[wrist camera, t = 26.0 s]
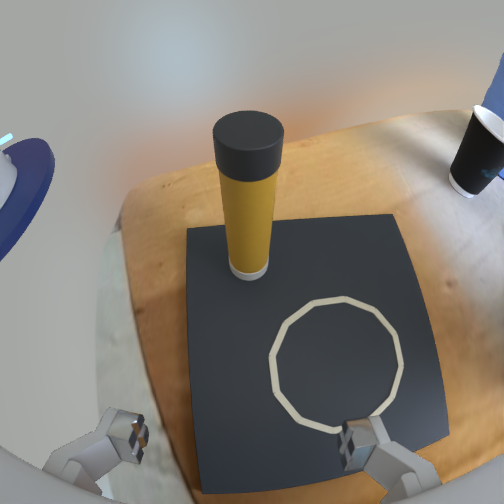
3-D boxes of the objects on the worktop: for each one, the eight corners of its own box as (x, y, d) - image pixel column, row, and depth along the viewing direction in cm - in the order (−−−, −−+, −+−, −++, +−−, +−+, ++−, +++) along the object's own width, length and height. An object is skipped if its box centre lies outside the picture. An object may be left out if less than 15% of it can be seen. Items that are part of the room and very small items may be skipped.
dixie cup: (475, 217, 27) (521, 158, 18) (431, 176, 30) (467, 110, 21) (487, 192, 30) (523, 139, 20) (449, 157, 33) (479, 100, 23)
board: (203, 491, 15) (201, 494, 14) (188, 231, 25) (186, 227, 25) (445, 434, 16) (450, 434, 15) (390, 217, 27) (393, 213, 26)
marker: (230, 283, 22) (212, 152, 11) (227, 248, 24) (212, 112, 13) (271, 279, 22) (290, 148, 11) (265, 244, 24) (277, 108, 13)
